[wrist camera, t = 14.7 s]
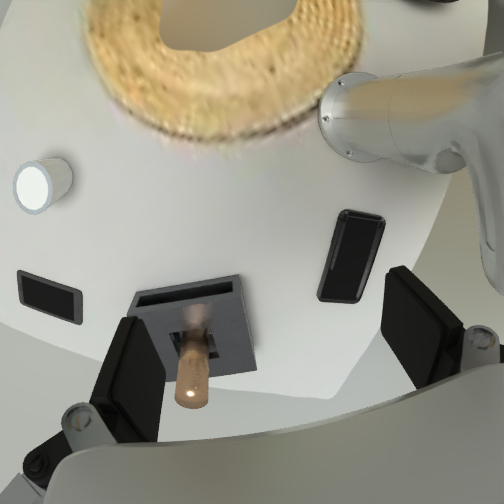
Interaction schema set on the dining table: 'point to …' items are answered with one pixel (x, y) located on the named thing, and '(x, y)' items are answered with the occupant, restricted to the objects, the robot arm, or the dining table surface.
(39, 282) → the cell phone
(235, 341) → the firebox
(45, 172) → the white cylinder
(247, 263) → the dining table surface
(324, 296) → the phone
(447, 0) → the glass bottle
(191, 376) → the brown long cylinder
